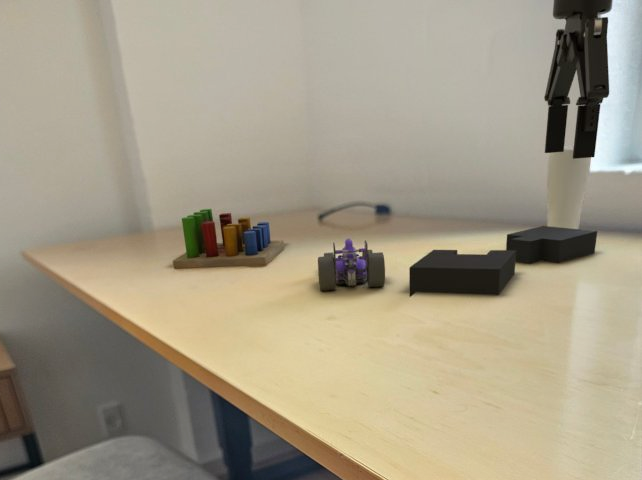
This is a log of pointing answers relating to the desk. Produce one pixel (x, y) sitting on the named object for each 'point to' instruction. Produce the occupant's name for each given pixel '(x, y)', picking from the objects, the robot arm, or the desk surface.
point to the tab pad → (551, 244)
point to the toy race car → (351, 267)
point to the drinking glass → (566, 188)
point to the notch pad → (462, 272)
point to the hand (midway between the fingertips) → (567, 155)
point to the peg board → (225, 243)
